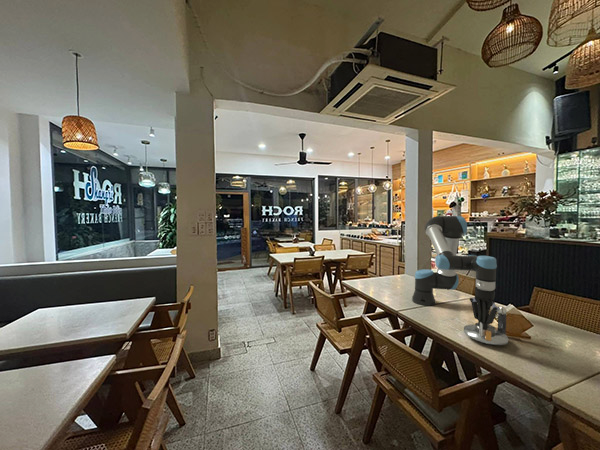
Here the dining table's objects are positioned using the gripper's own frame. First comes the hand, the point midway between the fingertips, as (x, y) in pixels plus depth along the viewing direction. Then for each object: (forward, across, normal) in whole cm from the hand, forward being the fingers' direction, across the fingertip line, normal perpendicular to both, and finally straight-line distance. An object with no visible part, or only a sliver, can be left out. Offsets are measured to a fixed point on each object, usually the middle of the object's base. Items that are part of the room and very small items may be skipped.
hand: (482, 335), depth 116 cm
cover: (+2, -3, +6) cm, 7 cm away
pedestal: (+5, -3, +6) cm, 9 cm away
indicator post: (+5, -3, +16) cm, 18 cm away
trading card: (+7, -17, +8) cm, 20 cm away
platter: (+3, -3, +7) cm, 8 cm away
